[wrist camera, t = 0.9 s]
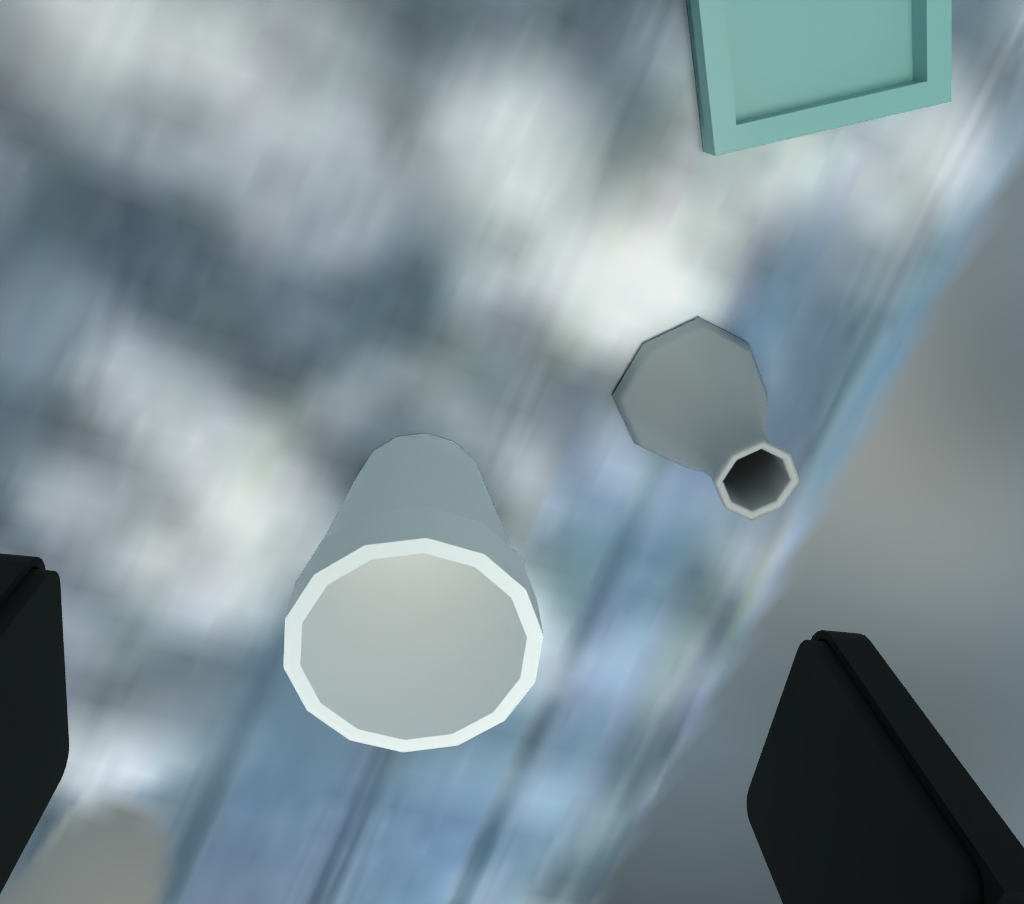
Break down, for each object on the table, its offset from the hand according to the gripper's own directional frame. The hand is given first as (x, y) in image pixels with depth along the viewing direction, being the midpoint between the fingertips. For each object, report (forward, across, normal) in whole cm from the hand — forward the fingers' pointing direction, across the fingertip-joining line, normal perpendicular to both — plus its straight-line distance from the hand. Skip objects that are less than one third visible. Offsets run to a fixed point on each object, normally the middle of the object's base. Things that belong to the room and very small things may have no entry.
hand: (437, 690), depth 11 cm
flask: (+31, -13, +6) cm, 34 cm away
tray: (+30, -14, -12) cm, 35 cm away
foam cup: (+31, -1, +12) cm, 33 cm away
